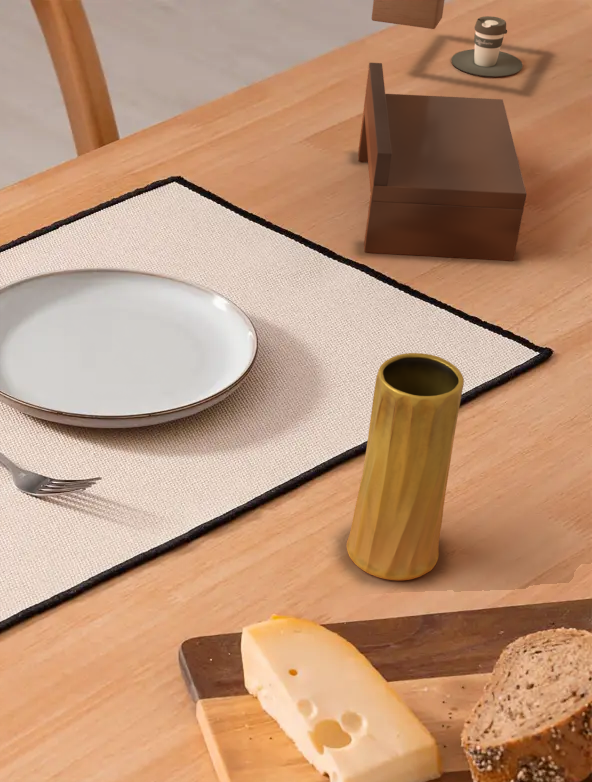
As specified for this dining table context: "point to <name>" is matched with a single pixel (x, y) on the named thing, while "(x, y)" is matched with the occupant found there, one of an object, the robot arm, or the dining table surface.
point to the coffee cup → (487, 51)
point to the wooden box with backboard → (439, 175)
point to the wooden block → (409, 12)
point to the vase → (406, 467)
